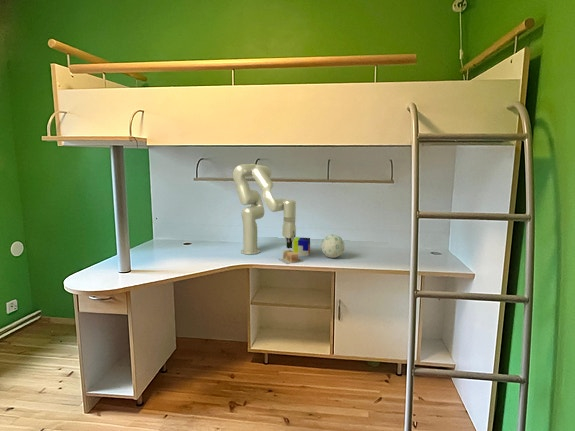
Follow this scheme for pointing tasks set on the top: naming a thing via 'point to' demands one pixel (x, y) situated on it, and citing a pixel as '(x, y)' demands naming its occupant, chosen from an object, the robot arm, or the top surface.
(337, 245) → the puzzle ball
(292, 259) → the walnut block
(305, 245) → the puzzle toy
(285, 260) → the rubber mat
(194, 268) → the top surface
